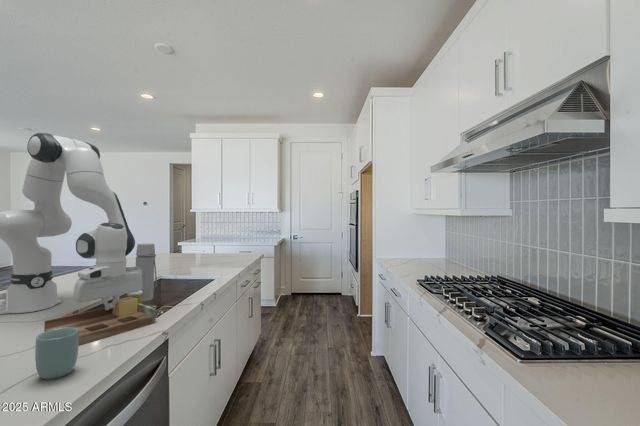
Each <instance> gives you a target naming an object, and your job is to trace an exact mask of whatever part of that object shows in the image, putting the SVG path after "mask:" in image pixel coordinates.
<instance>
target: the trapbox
mask: <svg viewBox="0 0 640 426" xmlns="http://www.w3.org/2000/svg"><path fill="white" fill-rule="evenodd" d="M112 310H113V309H110V310H105V306H104V307H102V308H97V309H91V310H87V311H83V312H78V313H74V314H69V315H65V316H60V317H56V318H55V317H54V318H51V319H45V320H44V331H43V332H45V331H49V330H53V329H58V328H64V327H75V328H77V329H78V330H79V345H78V347H79V346H81V345H85V344H88V343H92V342H95V341H98V340H99V341H100V340H102V339H105V338H108V337H111V336H116V335H118V334H121V333H125V332H129V331H132V330H135V329H140V328H143V327H146V326H149V325H152V324H155V323H157V322H156V321H157V319H156V318H157V317H156V316H157V308H156V307H152V306H149V305H146V304H143V303H142V304H140V303H137V313H133V314H129V315H125V316H121V317H118V316H116V315H113V314H112Z"/></svg>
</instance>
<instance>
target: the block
mask: <svg viewBox="0 0 640 426" xmlns="http://www.w3.org/2000/svg"><path fill="white" fill-rule="evenodd" d="M137 303H138V299H137V298H134V297H127V296H126V297H123V298H119V300H118V301H117V303H116V308H115V309H113V310H112V314H113V315H116V316H118V317H121V316H125V315H129V314H133V313H137Z"/></svg>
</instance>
